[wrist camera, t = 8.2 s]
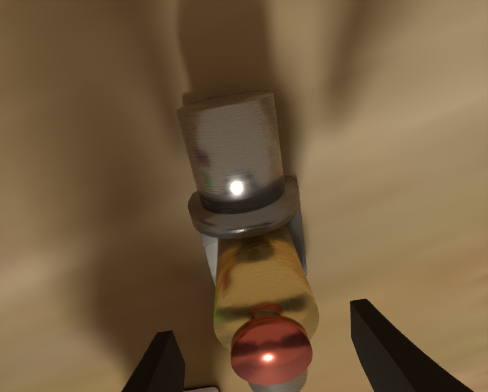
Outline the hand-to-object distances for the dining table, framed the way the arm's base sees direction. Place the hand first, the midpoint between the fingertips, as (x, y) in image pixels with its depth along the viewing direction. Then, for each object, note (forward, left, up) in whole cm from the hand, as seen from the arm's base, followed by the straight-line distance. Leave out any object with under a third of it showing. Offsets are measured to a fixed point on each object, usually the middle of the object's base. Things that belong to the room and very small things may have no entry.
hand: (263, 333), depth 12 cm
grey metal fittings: (0, 0, -7) cm, 7 cm away
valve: (0, 0, -7) cm, 6 cm away
